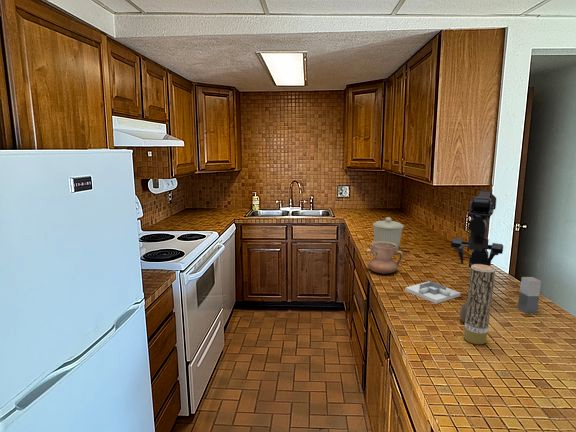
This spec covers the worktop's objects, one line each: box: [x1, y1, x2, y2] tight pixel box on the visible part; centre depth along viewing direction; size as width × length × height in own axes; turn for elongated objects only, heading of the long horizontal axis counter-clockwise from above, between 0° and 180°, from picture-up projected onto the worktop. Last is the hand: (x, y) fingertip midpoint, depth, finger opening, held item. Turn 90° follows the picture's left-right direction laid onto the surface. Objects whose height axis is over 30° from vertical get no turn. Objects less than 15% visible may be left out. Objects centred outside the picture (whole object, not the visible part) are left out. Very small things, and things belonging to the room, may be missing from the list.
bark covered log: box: [463, 264, 496, 345], centre depth 123 cm, size 7×7×25 cm
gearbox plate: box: [404, 280, 462, 305], centre depth 164 cm, size 16×16×4 cm
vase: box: [459, 301, 467, 324], centre depth 137 cm, size 7×7×9 cm
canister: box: [372, 216, 405, 251], centre depth 228 cm, size 18×18×21 cm
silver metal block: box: [517, 276, 542, 314], centre depth 147 cm, size 5×5×13 cm
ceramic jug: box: [366, 241, 404, 275], centre depth 191 cm, size 18×14×14 cm
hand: (474, 265), depth 156 cm, fingers open, 9 cm apart
